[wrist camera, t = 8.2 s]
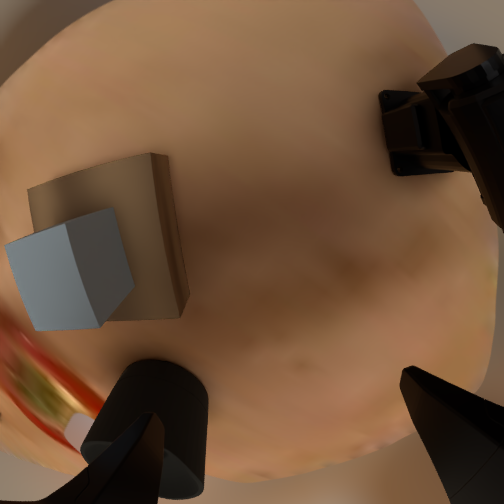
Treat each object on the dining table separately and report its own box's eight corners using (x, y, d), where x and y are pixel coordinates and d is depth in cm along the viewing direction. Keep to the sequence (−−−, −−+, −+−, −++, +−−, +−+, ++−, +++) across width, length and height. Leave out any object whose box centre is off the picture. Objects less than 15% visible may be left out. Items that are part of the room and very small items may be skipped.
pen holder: (187, 345, 21) (161, 443, 12) (227, 414, 24) (223, 499, 14) (102, 360, 22) (57, 435, 12) (148, 423, 24) (127, 494, 15)
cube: (135, 286, 16) (100, 327, 11) (75, 295, 16) (35, 331, 11) (113, 206, 14) (64, 223, 10) (54, 225, 14) (4, 245, 10)
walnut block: (169, 155, 17) (150, 152, 14) (190, 291, 20) (180, 318, 16) (58, 184, 17) (27, 189, 14) (84, 299, 20) (61, 321, 17)
